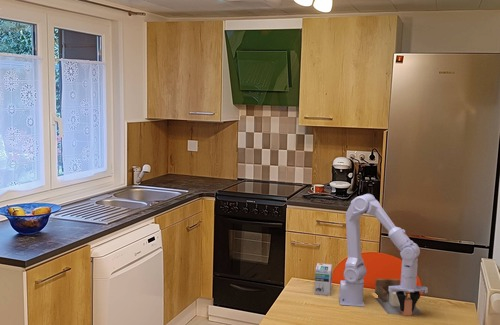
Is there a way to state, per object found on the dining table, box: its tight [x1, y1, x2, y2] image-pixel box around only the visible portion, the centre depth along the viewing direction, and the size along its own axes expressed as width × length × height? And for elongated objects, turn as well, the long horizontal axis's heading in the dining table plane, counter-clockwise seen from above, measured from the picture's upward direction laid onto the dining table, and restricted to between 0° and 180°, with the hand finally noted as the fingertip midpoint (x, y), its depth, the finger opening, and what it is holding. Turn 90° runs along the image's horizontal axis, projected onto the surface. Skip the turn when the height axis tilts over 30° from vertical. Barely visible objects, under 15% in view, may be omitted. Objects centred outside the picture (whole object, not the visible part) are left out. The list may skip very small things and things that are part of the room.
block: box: [389, 292, 413, 317], centre depth 211 cm, size 5×15×6 cm, turn 3°
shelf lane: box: [374, 278, 424, 315], centre depth 217 cm, size 14×25×6 cm, turn 3°
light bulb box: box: [314, 262, 333, 296], centre depth 229 cm, size 11×7×11 cm, turn 168°
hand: (406, 310), depth 205 cm, fingers closed on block, 3 cm apart
